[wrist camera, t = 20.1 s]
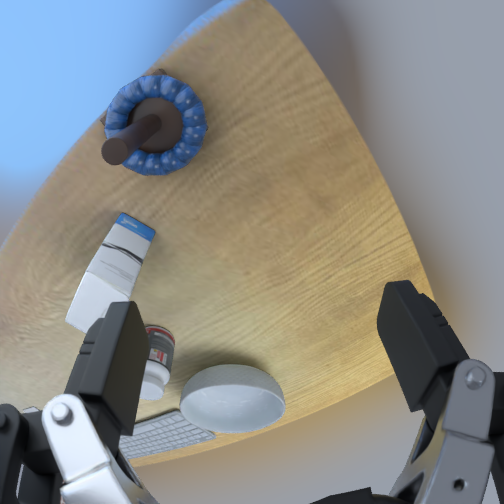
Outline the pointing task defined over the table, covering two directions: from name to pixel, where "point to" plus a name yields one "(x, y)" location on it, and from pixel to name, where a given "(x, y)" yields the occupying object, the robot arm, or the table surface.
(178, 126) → the stand
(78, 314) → the ink box
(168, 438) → the keyboard
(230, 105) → the table surface
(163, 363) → the pill bottle
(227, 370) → the cereal bowl
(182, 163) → the blue teething ring
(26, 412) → the coaster
